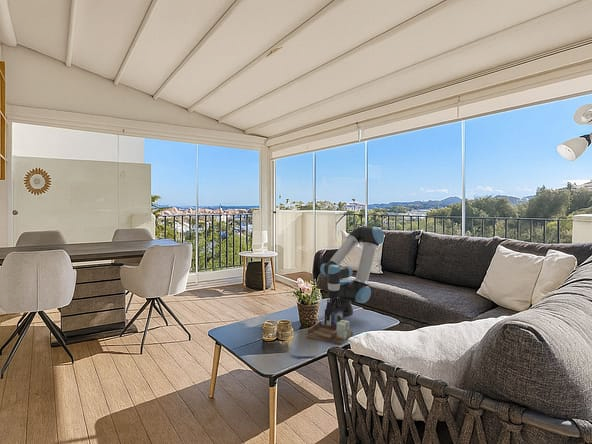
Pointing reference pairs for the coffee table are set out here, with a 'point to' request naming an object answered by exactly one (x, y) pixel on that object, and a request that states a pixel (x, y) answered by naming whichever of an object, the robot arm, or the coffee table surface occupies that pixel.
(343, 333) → the cradle
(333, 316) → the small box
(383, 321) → the coffee table surface
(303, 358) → the coffee table surface
